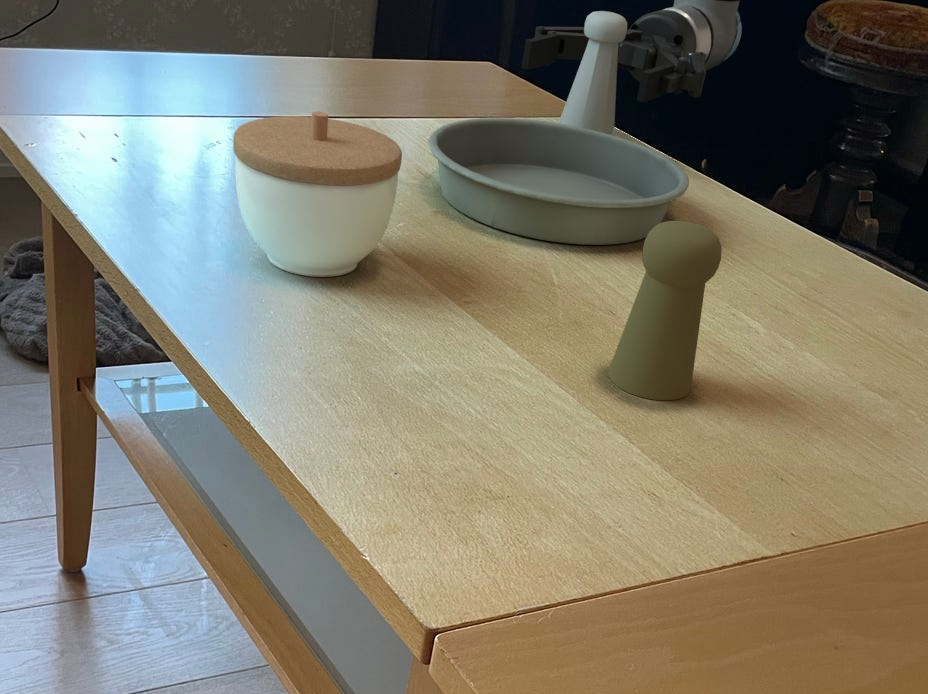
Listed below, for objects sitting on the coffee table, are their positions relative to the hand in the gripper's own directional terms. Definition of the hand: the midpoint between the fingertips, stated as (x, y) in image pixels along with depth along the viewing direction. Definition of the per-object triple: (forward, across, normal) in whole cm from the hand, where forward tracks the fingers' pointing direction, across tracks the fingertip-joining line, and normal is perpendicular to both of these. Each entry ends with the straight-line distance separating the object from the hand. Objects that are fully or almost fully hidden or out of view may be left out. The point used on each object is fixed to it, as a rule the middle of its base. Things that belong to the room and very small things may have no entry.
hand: (583, 70), depth 118 cm
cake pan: (+15, -6, -9) cm, 19 cm away
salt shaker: (-3, 0, -8) cm, 9 cm away
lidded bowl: (+44, 0, -9) cm, 45 cm away
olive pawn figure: (+43, -29, -9) cm, 53 cm away
